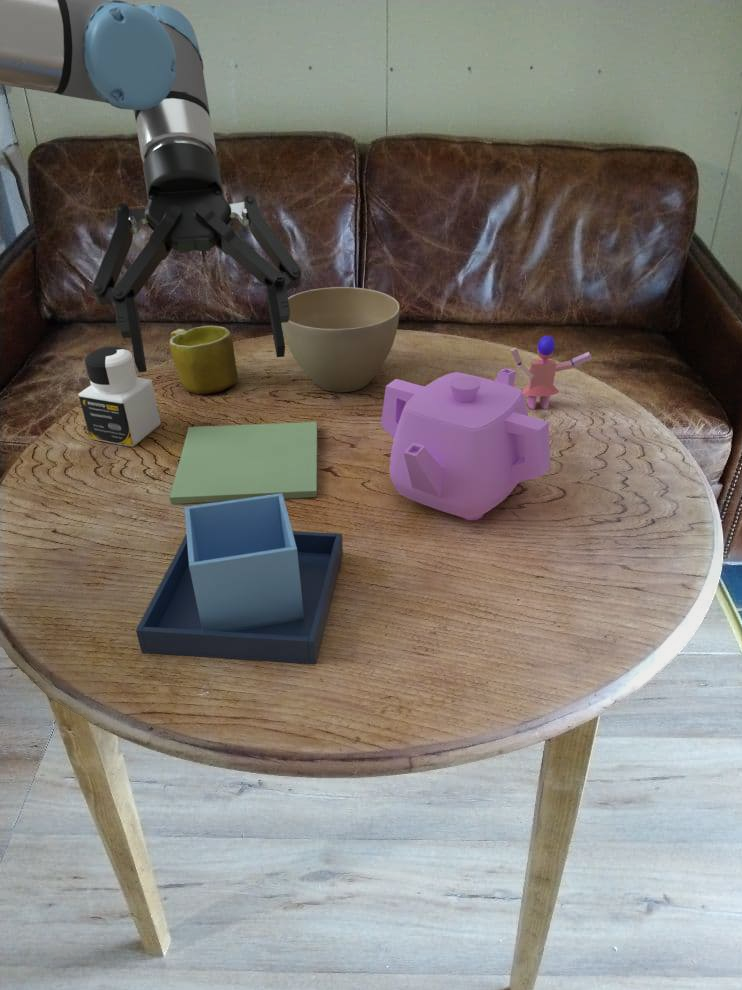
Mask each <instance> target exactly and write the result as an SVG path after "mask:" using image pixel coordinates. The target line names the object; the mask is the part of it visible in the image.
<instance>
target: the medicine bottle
mask: <svg viewBox="0 0 742 990" xmlns="http://www.w3.org/2000/svg"><path fill="white" fill-rule="evenodd" d="M84 363H85V368H86V371H87V375H88V379H89V382H90V385H89V386H87V387H86V388H85V389H83V390H81V391H80V392H79V393H78V398H79V403H80V405H81V410H82V414H83V417H84V421H85V424H86V429H87V433H88V436H89V438H90V440H93V441H98V442H102V443H103V442H104V443H108V444H114V445H119V446H124V447H130V448H134V447H135V446H137V445H138V444H139V443H140V442H141V441H142V440H143V439H145V438H146V437H148V436H149V435H150V434H151V433H152V432H153V431H154V430H156V429H157V428H158V427H159V426H161V418H160V414H159V409H158V403H157V398H156V393H155V390H154V384H153V381H152V380H151V379H150V378H144V377H138V376H137V372H136V366H135V361H134V356H133V354H132V352H131V351H129V350H128V349H127V348H124V347H118V346H105V347H100V348H97V349H95V350H93V351H91V352H90V353H88V354H87V355H86V357H85V358H84Z"/></svg>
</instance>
